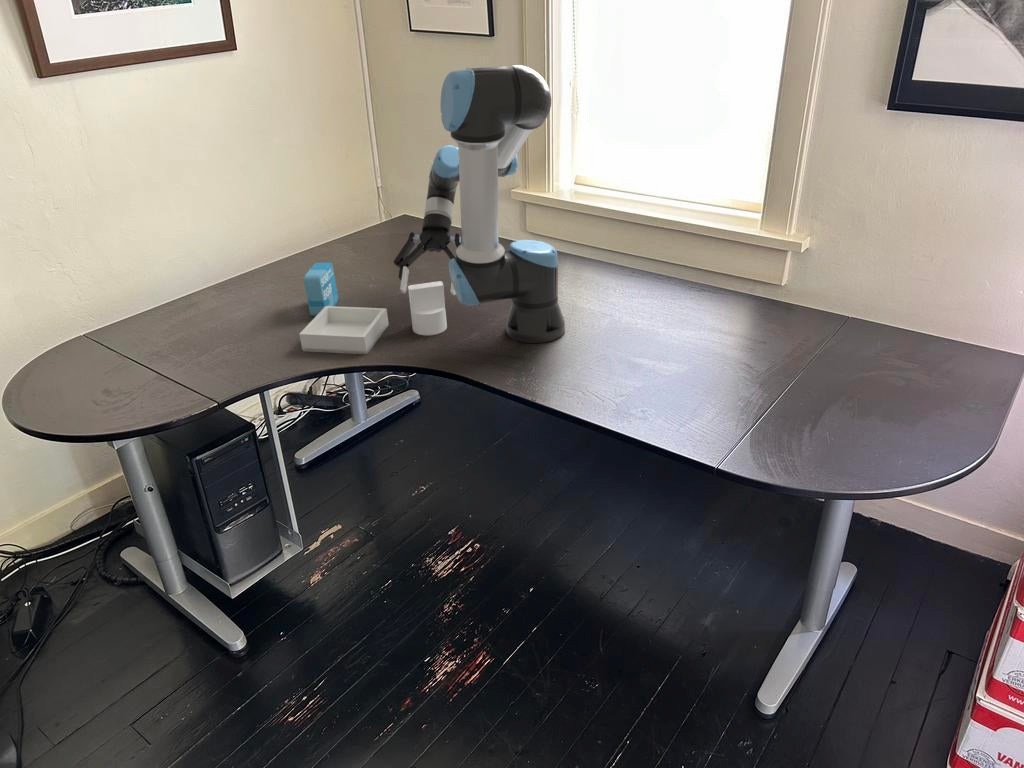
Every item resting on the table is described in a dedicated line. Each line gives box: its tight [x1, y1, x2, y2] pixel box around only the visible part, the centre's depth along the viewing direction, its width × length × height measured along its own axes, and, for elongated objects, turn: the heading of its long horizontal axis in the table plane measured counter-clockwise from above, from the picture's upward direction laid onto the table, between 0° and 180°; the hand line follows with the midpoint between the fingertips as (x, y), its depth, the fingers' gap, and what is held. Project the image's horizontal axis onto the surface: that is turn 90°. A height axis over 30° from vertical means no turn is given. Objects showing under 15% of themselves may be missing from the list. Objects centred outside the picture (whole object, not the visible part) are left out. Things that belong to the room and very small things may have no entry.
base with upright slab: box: [407, 280, 448, 336], centre depth 193 cm, size 9×9×12 cm
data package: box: [303, 262, 339, 317], centre depth 206 cm, size 12×4×12 cm, turn 175°
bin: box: [298, 305, 390, 356], centre depth 191 cm, size 17×17×5 cm
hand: (427, 292), depth 195 cm, fingers open, 13 cm apart
